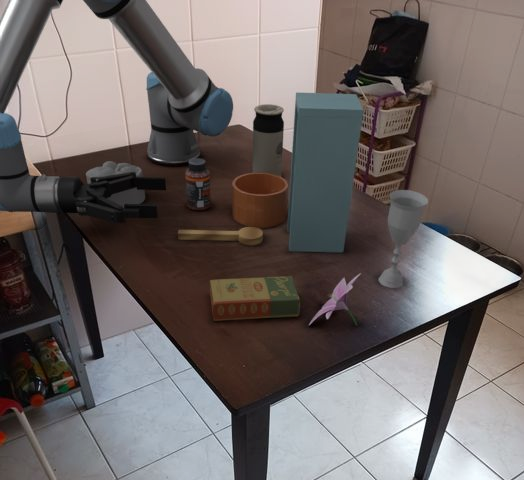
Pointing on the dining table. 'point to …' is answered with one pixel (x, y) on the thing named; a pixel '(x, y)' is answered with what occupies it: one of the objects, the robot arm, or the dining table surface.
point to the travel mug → (268, 139)
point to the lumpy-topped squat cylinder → (112, 169)
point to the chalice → (402, 229)
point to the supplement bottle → (198, 185)
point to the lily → (337, 299)
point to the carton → (254, 298)
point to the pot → (259, 199)
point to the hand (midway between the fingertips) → (161, 197)
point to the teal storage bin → (322, 170)
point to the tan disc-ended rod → (225, 235)
